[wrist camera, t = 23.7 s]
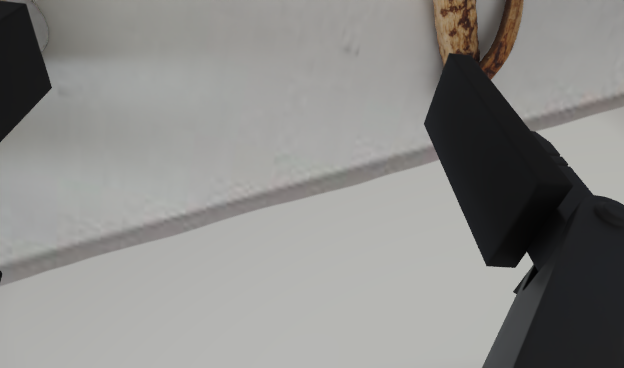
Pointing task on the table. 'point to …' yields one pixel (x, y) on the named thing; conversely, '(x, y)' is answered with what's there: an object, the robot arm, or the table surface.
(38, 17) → the coffee cup
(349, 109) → the table surface
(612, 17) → the table surface
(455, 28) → the overripe bananas
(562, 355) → the robot arm
